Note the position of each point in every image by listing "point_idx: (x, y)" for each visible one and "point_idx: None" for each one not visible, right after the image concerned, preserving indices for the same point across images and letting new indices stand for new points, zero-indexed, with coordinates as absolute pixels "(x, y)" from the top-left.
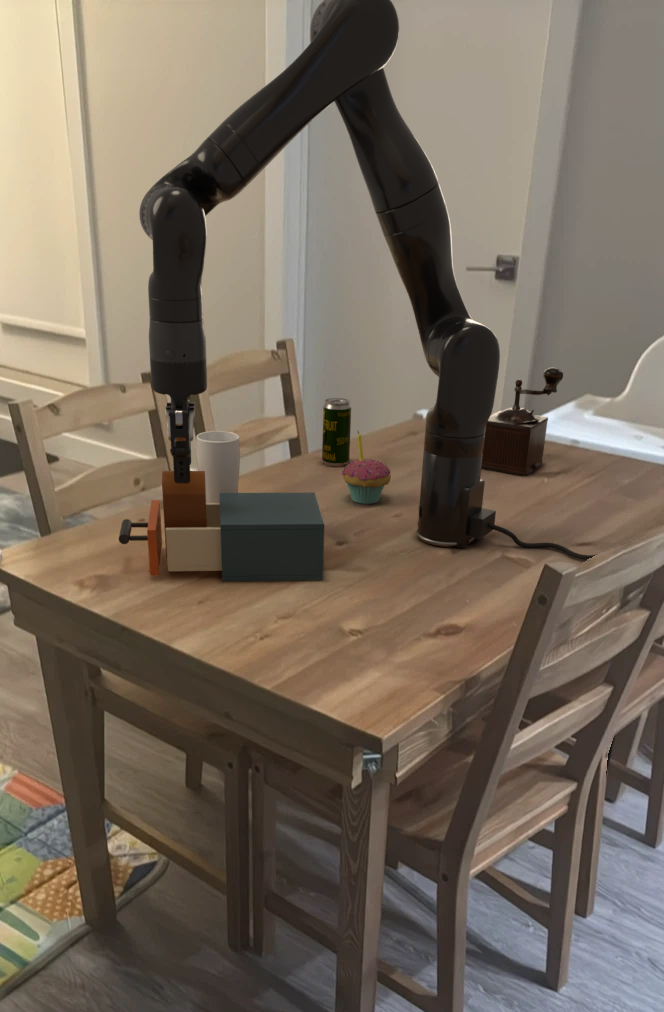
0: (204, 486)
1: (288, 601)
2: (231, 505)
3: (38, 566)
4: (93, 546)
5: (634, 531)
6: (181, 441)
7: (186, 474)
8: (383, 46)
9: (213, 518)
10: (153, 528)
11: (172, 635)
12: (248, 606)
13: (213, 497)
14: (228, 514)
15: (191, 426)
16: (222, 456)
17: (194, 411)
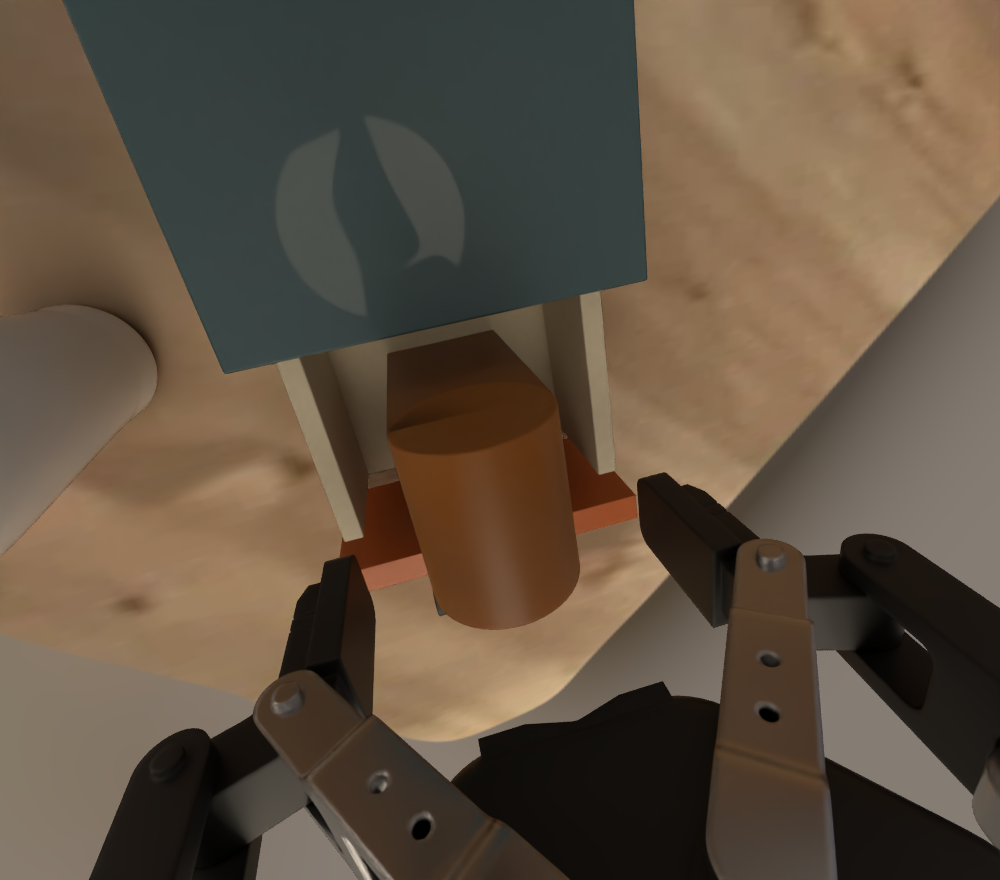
0: (557, 409)
1: (699, 8)
2: (399, 279)
3: (518, 676)
4: (379, 634)
5: None
6: (358, 694)
7: (713, 500)
8: None
9: (316, 363)
10: (623, 505)
11: (859, 317)
12: (727, 149)
13: (102, 415)
14: (524, 270)
15: (818, 701)
16: None
17: (800, 855)
